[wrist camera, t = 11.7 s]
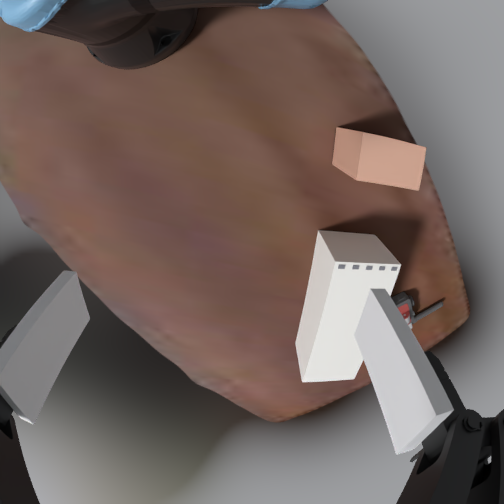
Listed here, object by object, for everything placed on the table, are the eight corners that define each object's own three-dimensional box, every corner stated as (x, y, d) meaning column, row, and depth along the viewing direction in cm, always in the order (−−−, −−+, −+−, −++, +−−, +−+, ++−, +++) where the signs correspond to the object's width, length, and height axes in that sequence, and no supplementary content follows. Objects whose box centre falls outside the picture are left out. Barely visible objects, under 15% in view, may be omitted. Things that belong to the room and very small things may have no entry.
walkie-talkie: (353, 347, 51) (440, 302, 47) (359, 363, 47) (450, 316, 43) (341, 319, 47) (437, 270, 43) (348, 336, 43) (449, 283, 39)
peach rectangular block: (336, 127, 32) (362, 132, 24) (390, 138, 33) (426, 147, 25) (332, 164, 35) (356, 180, 27) (385, 172, 35) (418, 190, 27)
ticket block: (318, 230, 39) (335, 262, 31) (375, 234, 39) (402, 265, 31) (295, 343, 49) (302, 382, 41) (342, 342, 50) (354, 379, 41)
